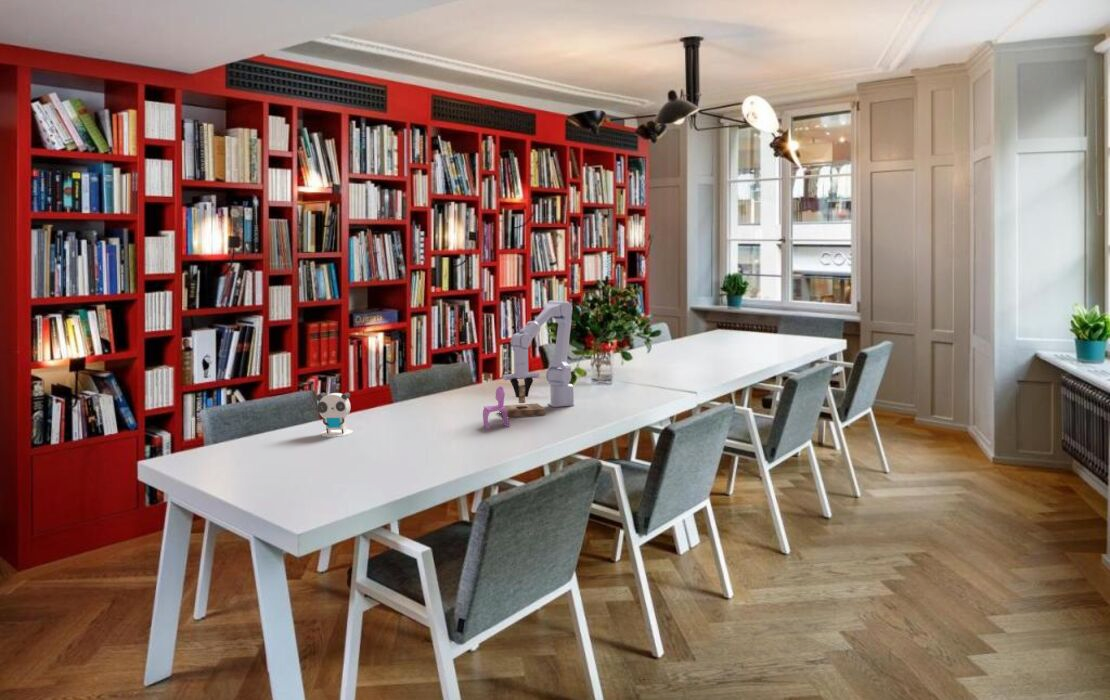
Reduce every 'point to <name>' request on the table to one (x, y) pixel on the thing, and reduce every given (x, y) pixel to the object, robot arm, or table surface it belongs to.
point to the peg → (521, 393)
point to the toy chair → (496, 407)
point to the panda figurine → (334, 413)
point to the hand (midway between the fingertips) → (521, 396)
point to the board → (524, 410)
